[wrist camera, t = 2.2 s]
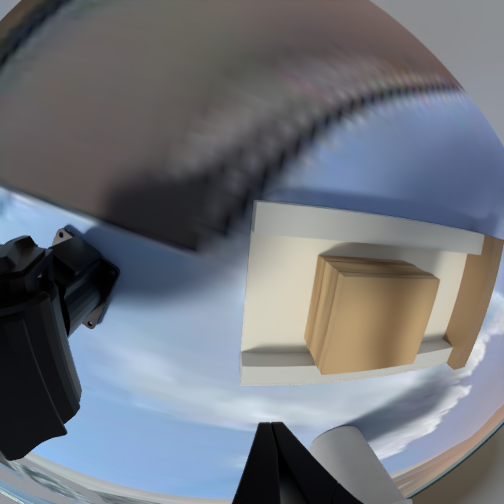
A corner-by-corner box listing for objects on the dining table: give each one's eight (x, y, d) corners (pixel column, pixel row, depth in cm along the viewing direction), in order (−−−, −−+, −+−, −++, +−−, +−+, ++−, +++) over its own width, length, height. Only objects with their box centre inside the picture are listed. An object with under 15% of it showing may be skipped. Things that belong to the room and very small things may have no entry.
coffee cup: (329, 411, 25) (377, 524, 10) (384, 420, 27) (435, 505, 12) (282, 457, 27) (305, 557, 12) (339, 463, 28) (370, 543, 14)
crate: (303, 338, 22) (320, 375, 17) (317, 254, 20) (343, 275, 15) (385, 334, 22) (413, 363, 18) (404, 260, 21) (441, 278, 16)
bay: (239, 367, 22) (241, 397, 19) (253, 199, 19) (259, 203, 15) (445, 349, 25) (464, 366, 21) (478, 232, 22) (504, 240, 18)
